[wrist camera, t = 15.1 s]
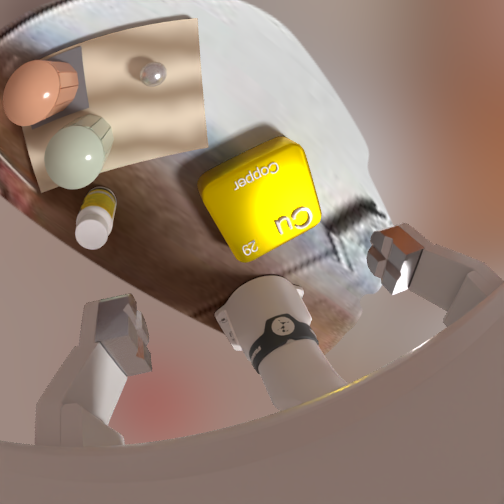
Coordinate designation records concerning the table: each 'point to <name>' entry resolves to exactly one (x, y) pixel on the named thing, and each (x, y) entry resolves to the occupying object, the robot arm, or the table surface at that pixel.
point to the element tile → (261, 198)
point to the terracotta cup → (39, 91)
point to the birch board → (136, 96)
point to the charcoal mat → (81, 95)
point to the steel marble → (153, 74)
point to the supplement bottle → (95, 218)
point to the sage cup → (78, 151)
